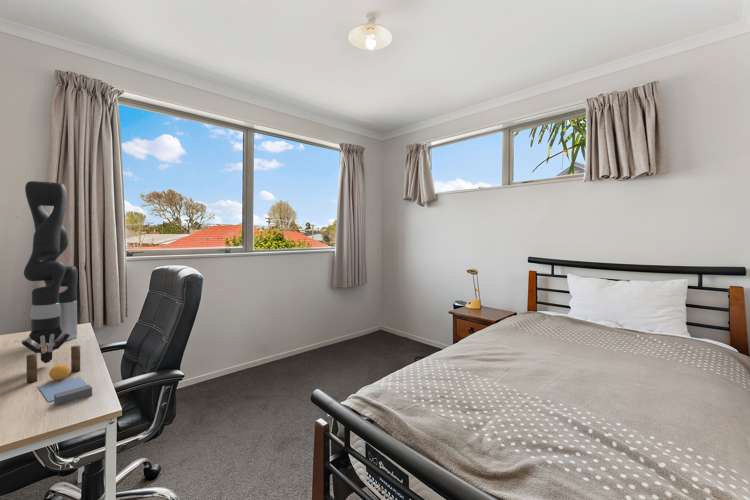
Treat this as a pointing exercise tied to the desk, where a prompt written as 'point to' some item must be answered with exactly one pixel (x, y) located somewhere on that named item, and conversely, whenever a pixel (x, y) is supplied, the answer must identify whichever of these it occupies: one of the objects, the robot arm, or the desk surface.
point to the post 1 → (31, 368)
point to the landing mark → (61, 387)
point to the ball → (59, 372)
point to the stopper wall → (72, 395)
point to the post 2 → (75, 358)
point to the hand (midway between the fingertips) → (46, 362)
